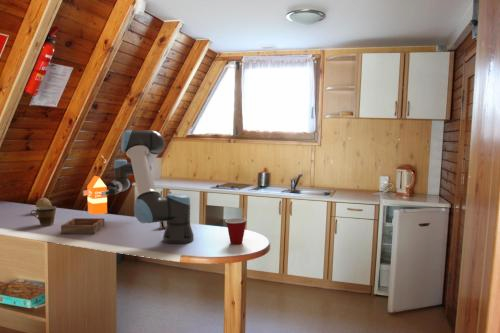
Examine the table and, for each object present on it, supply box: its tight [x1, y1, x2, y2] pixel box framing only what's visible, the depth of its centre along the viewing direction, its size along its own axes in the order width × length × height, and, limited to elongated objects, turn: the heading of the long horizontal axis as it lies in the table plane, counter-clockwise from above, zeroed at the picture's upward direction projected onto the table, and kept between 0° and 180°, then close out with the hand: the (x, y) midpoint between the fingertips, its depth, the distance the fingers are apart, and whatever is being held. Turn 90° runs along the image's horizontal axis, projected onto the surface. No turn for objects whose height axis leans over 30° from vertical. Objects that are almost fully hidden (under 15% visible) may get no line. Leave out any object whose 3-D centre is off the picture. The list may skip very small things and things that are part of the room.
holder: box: [60, 217, 106, 235], centre depth 222 cm, size 17×17×4 cm
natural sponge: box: [35, 197, 53, 208], centre depth 262 cm, size 9×9×10 cm
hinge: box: [159, 221, 167, 229], centre depth 234 cm, size 17×5×10 cm, turn 154°
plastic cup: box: [224, 217, 248, 246], centre depth 201 cm, size 11×11×12 cm
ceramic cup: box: [30, 205, 57, 227], centre depth 230 cm, size 13×10×10 cm
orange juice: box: [86, 175, 108, 215], centre depth 223 cm, size 8×9×20 cm
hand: (92, 193), depth 218 cm, fingers closed on orange juice, 10 cm apart
